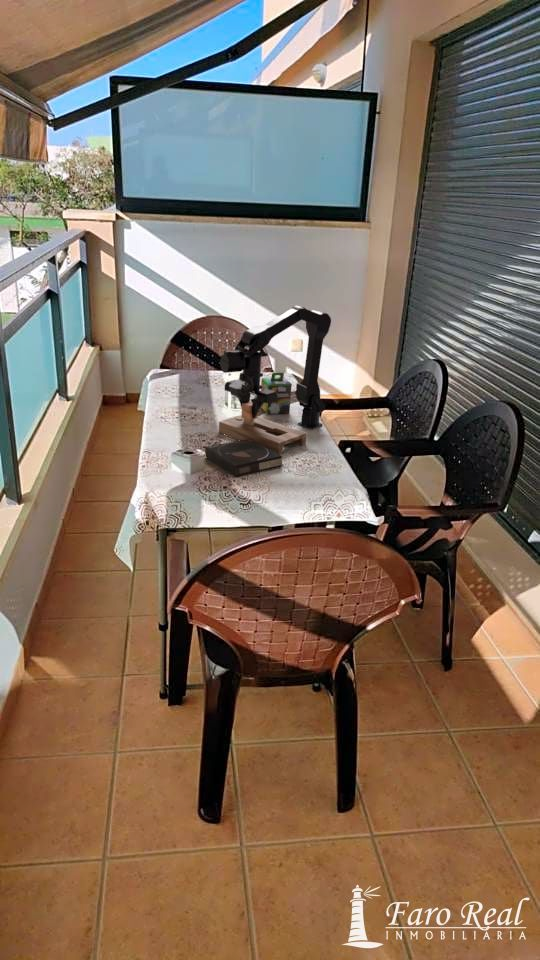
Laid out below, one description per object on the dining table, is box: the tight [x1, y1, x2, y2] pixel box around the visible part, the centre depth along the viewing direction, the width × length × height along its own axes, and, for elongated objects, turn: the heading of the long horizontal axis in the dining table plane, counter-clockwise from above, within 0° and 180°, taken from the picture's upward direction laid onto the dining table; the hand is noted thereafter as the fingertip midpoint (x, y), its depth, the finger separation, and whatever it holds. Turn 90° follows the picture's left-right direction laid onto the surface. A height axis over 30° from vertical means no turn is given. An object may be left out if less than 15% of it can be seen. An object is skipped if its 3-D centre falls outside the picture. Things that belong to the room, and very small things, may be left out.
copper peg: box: [241, 400, 258, 426], centre depth 224 cm, size 4×4×10 cm
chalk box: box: [260, 371, 293, 415], centre depth 249 cm, size 9×9×15 cm
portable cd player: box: [204, 439, 283, 478], centre depth 202 cm, size 16×17×4 cm
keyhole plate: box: [218, 414, 307, 455], centre depth 222 cm, size 14×26×4 cm, turn 50°
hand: (249, 416), depth 223 cm, fingers closed on copper peg, 4 cm apart
